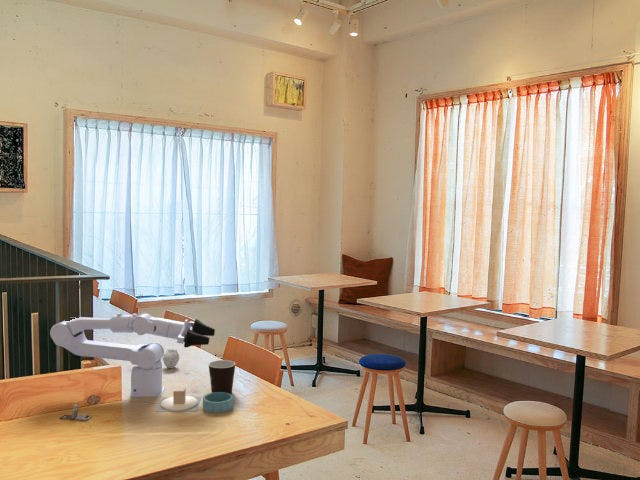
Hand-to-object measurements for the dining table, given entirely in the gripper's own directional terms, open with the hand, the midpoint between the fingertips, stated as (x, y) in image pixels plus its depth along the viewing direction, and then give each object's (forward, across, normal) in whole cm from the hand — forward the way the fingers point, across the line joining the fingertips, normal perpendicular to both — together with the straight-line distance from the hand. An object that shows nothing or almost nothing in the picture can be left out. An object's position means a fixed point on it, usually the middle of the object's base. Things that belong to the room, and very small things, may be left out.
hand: (211, 336), depth 179 cm
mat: (-5, -12, +19) cm, 23 cm away
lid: (-5, -12, +18) cm, 23 cm away
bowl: (+8, -13, +17) cm, 23 cm away
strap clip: (-31, -25, +22) cm, 45 cm away
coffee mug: (+6, 0, +19) cm, 20 cm away
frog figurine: (-18, +24, +26) cm, 39 cm away
